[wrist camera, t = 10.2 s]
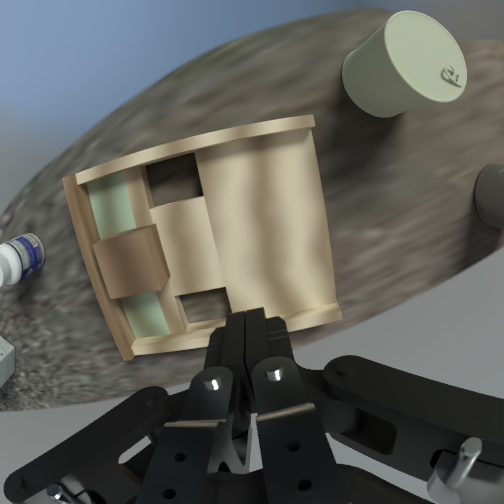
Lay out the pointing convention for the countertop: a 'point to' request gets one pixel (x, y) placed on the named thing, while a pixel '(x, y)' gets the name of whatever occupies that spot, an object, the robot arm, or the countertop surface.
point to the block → (132, 262)
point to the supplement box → (6, 360)
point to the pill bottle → (20, 258)
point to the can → (405, 67)
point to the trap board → (216, 233)
